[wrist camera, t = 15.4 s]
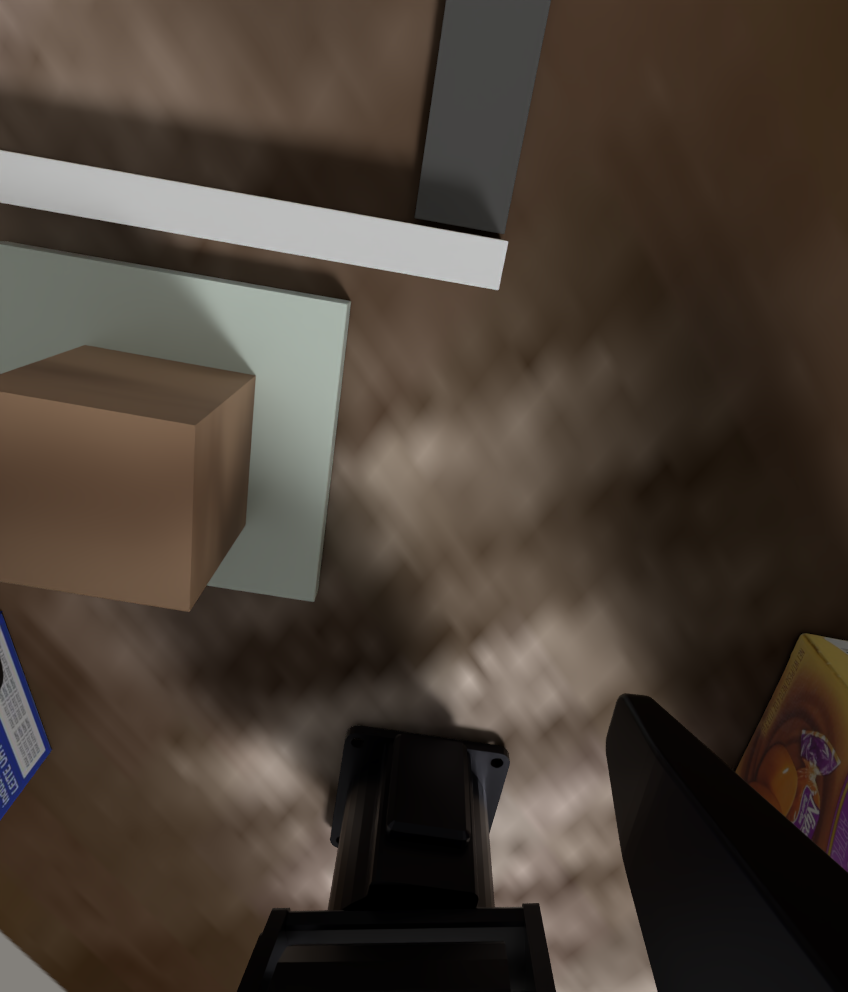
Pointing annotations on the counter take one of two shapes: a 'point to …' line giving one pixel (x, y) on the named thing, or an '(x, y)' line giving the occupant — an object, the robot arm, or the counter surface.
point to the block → (122, 474)
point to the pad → (218, 344)
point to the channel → (344, 235)
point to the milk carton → (17, 727)
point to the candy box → (807, 745)
